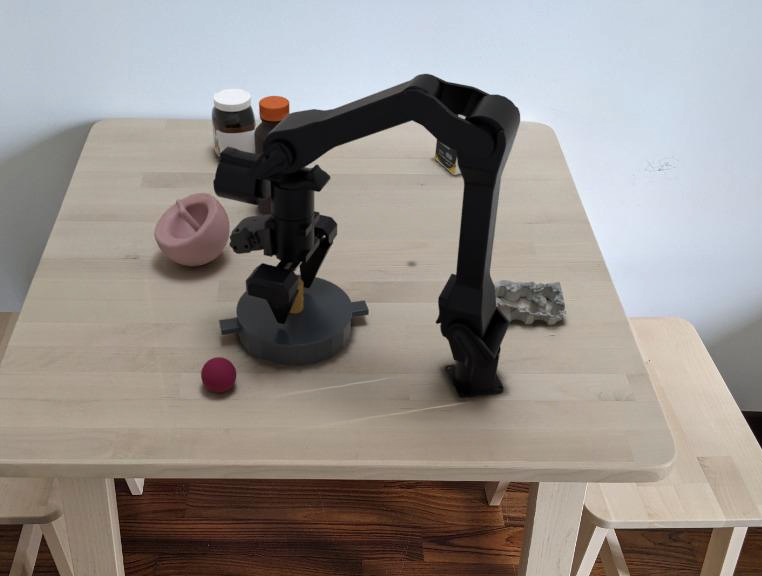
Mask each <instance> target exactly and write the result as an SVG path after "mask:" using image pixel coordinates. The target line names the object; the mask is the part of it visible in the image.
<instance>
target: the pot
mask: <svg viewBox="0 0 762 576" xmlns="http://www.w3.org/2000/svg"><path fill="white" fill-rule="evenodd" d="M351 303H352V307H353V313H352V318H356V317H363V316H369V314H370V309H369V307H368V305H367V303H366V300H358V301H351ZM218 324H219V325H218V326H219V329H220V333H221V334H220V335H221V336H225V335H234V334H238V336H239V340H240V344H241V346H243V347H244V349H245V350H246V352H248V353H249V354H250V355H252V356H253V357H254V358H256V359H260V360H262V361H265V362H269V363H272V364H276V365H280V366H294V367H296V366H297V367H298V366H306V365H312V364H313V365H314V364H317V363H320V362H322V361H326V360H328V359H330V358H332V357H334V356H335V355H336V354H338V353H339V352H340V351H342V350H343V349H344V348H345V346H346V344H347V343H348V342H349V340H350V339H351V330H352V329H351V328H352V320H351V321H350V323H349V325H348V326H347V328H346V329H345V330H344V331H343V332H342V333H341V334H339V335H338V336H336V337H335V338H333V339H331V340H329V341H327V342H324V343H322V344H318V345H314V346H309V347H301V348H287V347H279V346H274V345H270V344H266V343H264V342H261V341H259V340H257V339H255V338H253V337H252V336H250V335H249V334H248V333H247V332H245V331H244V329H243V328H242V327H241V325H240V324H239V322H238V319H237V317H231V318H224V319H223V318H222V319H219V320H218Z"/></svg>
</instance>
